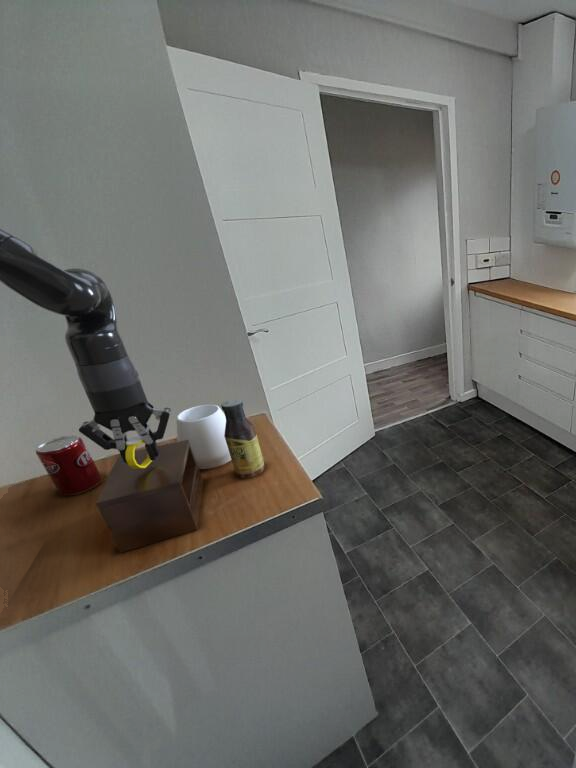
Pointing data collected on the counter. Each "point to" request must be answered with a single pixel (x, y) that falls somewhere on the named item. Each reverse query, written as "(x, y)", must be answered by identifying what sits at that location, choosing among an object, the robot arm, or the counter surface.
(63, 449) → the soda can
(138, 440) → the watch
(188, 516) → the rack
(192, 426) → the cup
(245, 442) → the sauce bottle
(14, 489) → the counter surface
